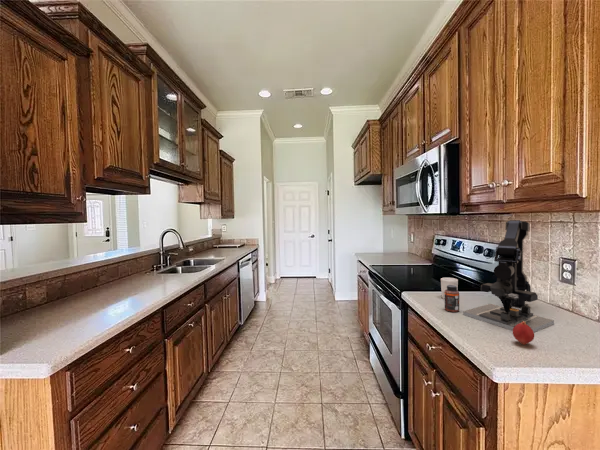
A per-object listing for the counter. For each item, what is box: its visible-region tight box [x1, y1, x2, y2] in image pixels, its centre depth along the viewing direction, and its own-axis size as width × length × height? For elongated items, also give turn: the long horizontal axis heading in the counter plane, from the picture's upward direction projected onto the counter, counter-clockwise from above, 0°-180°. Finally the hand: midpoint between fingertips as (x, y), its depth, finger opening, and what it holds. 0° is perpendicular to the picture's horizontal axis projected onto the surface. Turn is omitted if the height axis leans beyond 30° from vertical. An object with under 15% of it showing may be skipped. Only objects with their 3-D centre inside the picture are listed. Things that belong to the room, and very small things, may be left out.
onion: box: [512, 321, 535, 346], centre depth 96 cm, size 6×6×8 cm
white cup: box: [440, 277, 459, 300], centre depth 147 cm, size 8×8×10 cm
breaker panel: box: [462, 303, 555, 333], centre depth 118 cm, size 20×24×5 cm
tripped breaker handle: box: [510, 307, 520, 317], centre depth 115 cm, size 2×2×3 cm
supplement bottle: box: [444, 285, 460, 313], centre depth 130 cm, size 6×6×11 cm
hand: (507, 312), depth 118 cm, fingers closed
